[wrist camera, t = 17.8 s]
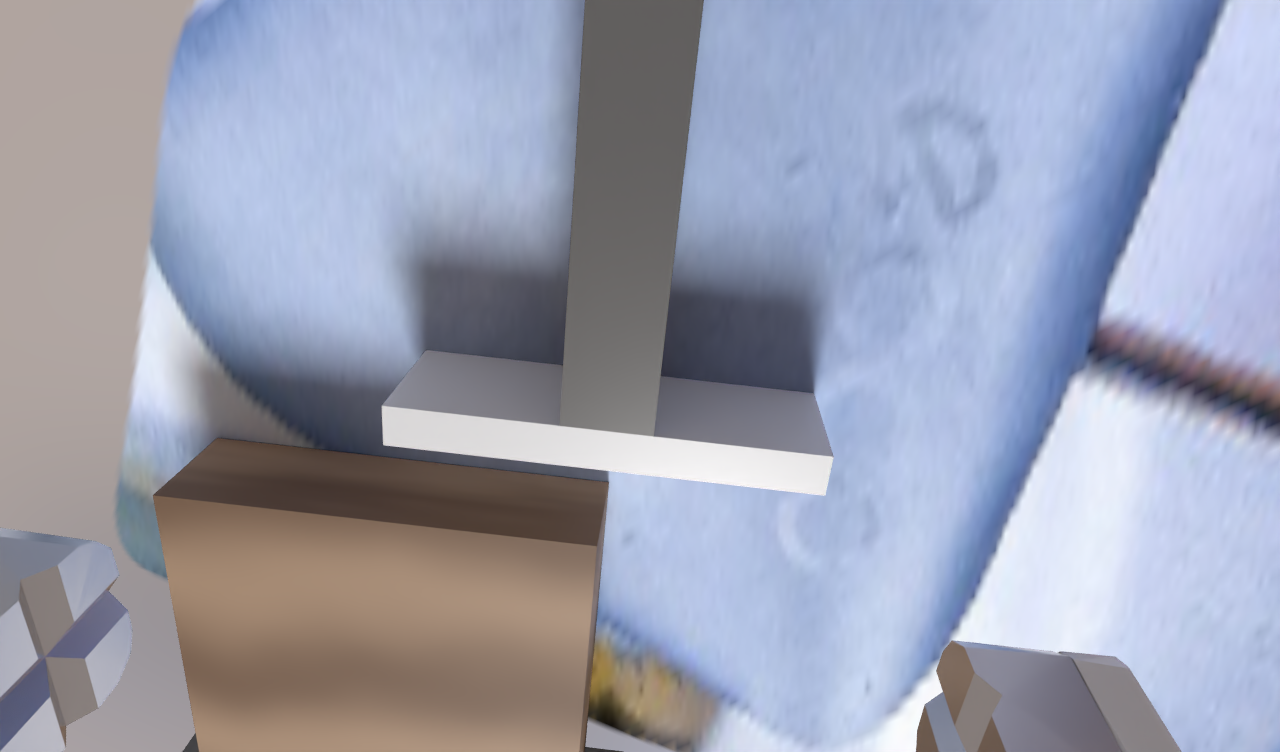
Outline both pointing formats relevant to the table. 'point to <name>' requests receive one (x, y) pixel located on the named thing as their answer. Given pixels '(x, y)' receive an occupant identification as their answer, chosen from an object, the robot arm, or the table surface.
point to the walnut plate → (381, 601)
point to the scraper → (619, 305)
